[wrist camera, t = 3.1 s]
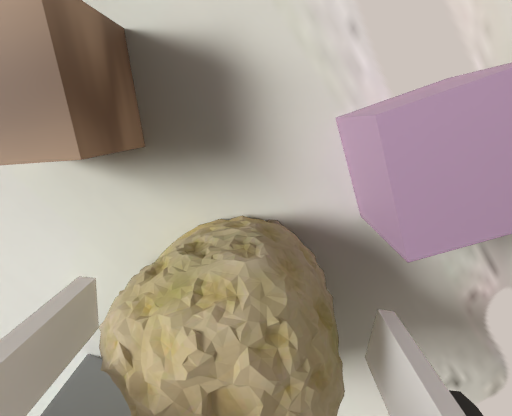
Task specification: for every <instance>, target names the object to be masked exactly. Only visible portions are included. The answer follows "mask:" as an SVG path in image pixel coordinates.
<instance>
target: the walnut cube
mask: <svg viewBox="0 0 512 416" xmlns="http://www.w3.org/2000/svg"><path fill="white" fill-rule="evenodd" d="M141 147H145V144H144V138H143V133H142V127H141V121H140V116H139V110H138V105H137V99H136V94H135V88H134V83H133V77H132V71H131V66H130V60H129V55H128V49H127V44H126V38H125V33H124V28H123V27H121V26H120V25H118V24H116V23H115V22H113V21H112V20H110V19H109V18H107V17H106V16H104V15H103V14H101V13H100V12H98V11H97V10H95V9H94V8H92V7H91V6H89V5H88V4H86V3H85V2H83V1H82V0H0V165H11V164H25V163H40V162H54V161H68V160H82V159H87V158H92V157H97V156H101V155H106V154H111V153H116V152H121V151H126V150H131V149H136V148H141Z"/></svg>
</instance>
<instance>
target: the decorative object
mask: <svg viewBox="0 0 512 416" xmlns="http://www.w3.org/2000/svg"><path fill="white" fill-rule="evenodd" d="M325 281H326V279H325V275H324V272H323V270H322V269H321V268H320V267H319V266H318V264H317V262H316V258H315V255H314V254H313V253H312V252H311V251H310V250H309V249H308V248H307V247H306V246H304V245H303V244H302V242H301V241H300V240H299V239H298V237H297V236H296V235H295V234H294V233H292V232H291V231H290V230H288V229H287V228H286V227H285V226H283V225H282V224H281V223H280V222H279V221H278V220H268V222H266V221H264V220H261V219H251V218H248V217H245V216H239V217H236V218H233V219H231V220H224V219H218V220H215V221H213V222H210V223H205V224H202V225H199V226H197V227H196V228H194V229H193V230H191V231H189V232H187V233H185V234H184V235H183V236H181V237H180V238H178V239H177V240H176V241H175V242H173V243H172V244H171V245H170V246H169V247H168V248H167V249H166V250H165V251H164V252H163V253H162V254H161V255H160V256H159V258H158V259H157V260H156V261H155V262H154V263H152V264H151V265H149V266H145V267H144V268H143V269H141V270H140V273H139V274H137V275H135V276H133V277H132V278H131V280H130V281H129V282H128V284H127V286H126V288H125V290H123V291H120V292H119V296H117V297H116V298H115V300H114V302H113V303H112V305H111V307H110V309H109V312H108V314H107V316H106V318H105V320H104V322H103V323H102V324H101V325H100V326H99V329H100V331H101V336H100V345H99V349H100V353H101V357H102V366H101V371H104V372H106V373H107V374H108V375H110V377H111V379H112V381H113V382H114V383H115V384H116V386H117V387H118V388H119V389H120V391H121V393H122V395H123V396H124V398H125V400H126V402H127V404H128V406H129V409H130V411H131V416H337V413H338V409H339V406H340V403H341V401H342V399H343V397H344V392H345V390H344V383H343V375H342V361H341V359H340V357H339V354H338V342H339V337H338V331H337V326H336V321H335V316H334V309H333V296H332V295H331V294H330V293H329V292H328V291H327V289H326V283H325Z"/></svg>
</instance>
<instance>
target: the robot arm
mask: <svg viewBox="0 0 512 416" xmlns="http://www.w3.org/2000/svg"><path fill="white" fill-rule="evenodd" d="M98 328H99V324H98V309H97V293H96V278H90V277H81V276H79V277H78V278H76V279H75V280H74V281H73V282H71V283H70V284H69V285H68V286H67V287H65V288H64V289H63V290H62V291H60V292H59V293H58V294H57V295H55V296H54V297H53V298H52V299H50V300H49V301H48V302H47V303H45V304H44V305H43V306H42V307H41V308H39V309H38V310H37V311H36V312H34V313H33V314H32V315H31V316H29V317H28V318H27V319H26V320H24V321H23V322H22V323H21V324H19V325H18V326H17V327H16V328H15V329H13V330H12V331H11V332H10V333H8V334H7V335H6V336H5V337H3V338H2V339H1V340H0V416H26V415H27V414H28V413H29V411H30V410H31V409H32V408H33V407H34V405H35V404H36V403H37V402H38V401H39V399H40V398H41V397H42V396H43V395H44V393H45V392H46V391H47V390H48V389H49V387H50V386H51V385H52V384H53V382H54V381H55V380H56V379H57V378H58V376H59V375H60V374H61V373H62V372H63V370H64V369H65V368H66V367H67V366H68V364H69V363H70V362H71V361H72V359H73V358H74V357H75V356H76V355H77V353H78V352H79V351H80V350H81V349H82V347H83V346H84V345H85V344H86V343H87V341H88V340H89V339H90V338H91V336H92V335H93V334H94V333H95V332H96V330H97V329H98ZM365 359H366V361H367V363H368V366H369V368H370V371H371V373H372V375H373V378H374V380H375V382H376V385H377V387H378V389H379V392H380V394H381V396H382V399H383V401H384V403H385V406H386V408H387V410H388V413H389V415H390V416H483V415H482V413H481V412H480V411H479V409H478V408H477V407H476V406H475V405H474V404H473V403H472V402H471V401H470V400H469V399H468V398H467V397H465V396H464V395H463V394H462V393H461V392H459V391H450V390H448V389H447V387H446V386H445V384H444V383H443V381H442V380H441V379H440V377H439V376H438V374H437V373H436V371H435V370H434V368H433V367H432V365H431V364H430V363H429V361H428V360H427V358H426V357H425V355H424V354H423V352H422V351H421V349H420V348H419V347H418V345H417V344H416V342H415V341H414V339H413V338H412V336H411V335H410V334H409V332H408V331H407V329H406V328H405V326H404V325H403V323H402V322H401V320H400V319H399V318H398V316H397V315H396V313H395V312H394V311H388V310H379V309H377V313H376V317H375V321H374V325H373V328H372V332H371V336H370V340H369V344H368V347H367V351H366V355H365Z"/></svg>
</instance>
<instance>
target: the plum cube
mask: <svg viewBox="0 0 512 416" xmlns="http://www.w3.org/2000/svg"><path fill="white" fill-rule="evenodd" d="M336 122H337V126H338V130H339V133H340V137H341V141H342V145H343V149H344V153H345V157H346V161H347V165H348V169H349V172H350V176H351V180H352V184H353V188H354V192H355V196H356V200H357V204H358V208H359V212H360V215H361V217H362V218H363V219H364V220H365V221H366V222H367V223H368V224H369V225H370V226H371V227H372V228H373V229H374V230H375V231H376V232H377V233H378V234H379V235H380V236H381V237H382V238H383V239H384V240H385V241H386V242H387V243H388V244H389V245H390V246H391V247H392V248H393V249H395V250H396V251H397V252H398V253H399V254H400V255H401V256H402V257H403V258H404V259H405V260H406V261H407V262H412V261H415V260H419V259H423V258H426V257H430V256H433V255H437V254H441V253H444V252H448V251H451V250H455V249H459V248H462V247H466V246H469V245H473V244H476V243H480V242H484V241H487V240H491V239H494V238H498V237H502V236H505V235H509V234H512V63H508V64H504V65H500V66H496V67H492V68H488V69H484V70H480V71H476V72H472V73H467V74H463V75H459V76H455V77H451V78H447V79H444V80H441V81H439V82H436V83H433V84H430V85H428V86H424V87H422V88H419V89H416V90H413V91H410V92H407V93H404V94H402V95H399V96H396V97H393V98H391V99H388V100H385V101H382V102H379V103H376V104H373V105H371V106H368V107H365V108H362V109H359V110H356V111H354V112H351V113H348V114H345V115H342V116H339V117H337V118H336Z"/></svg>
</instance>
